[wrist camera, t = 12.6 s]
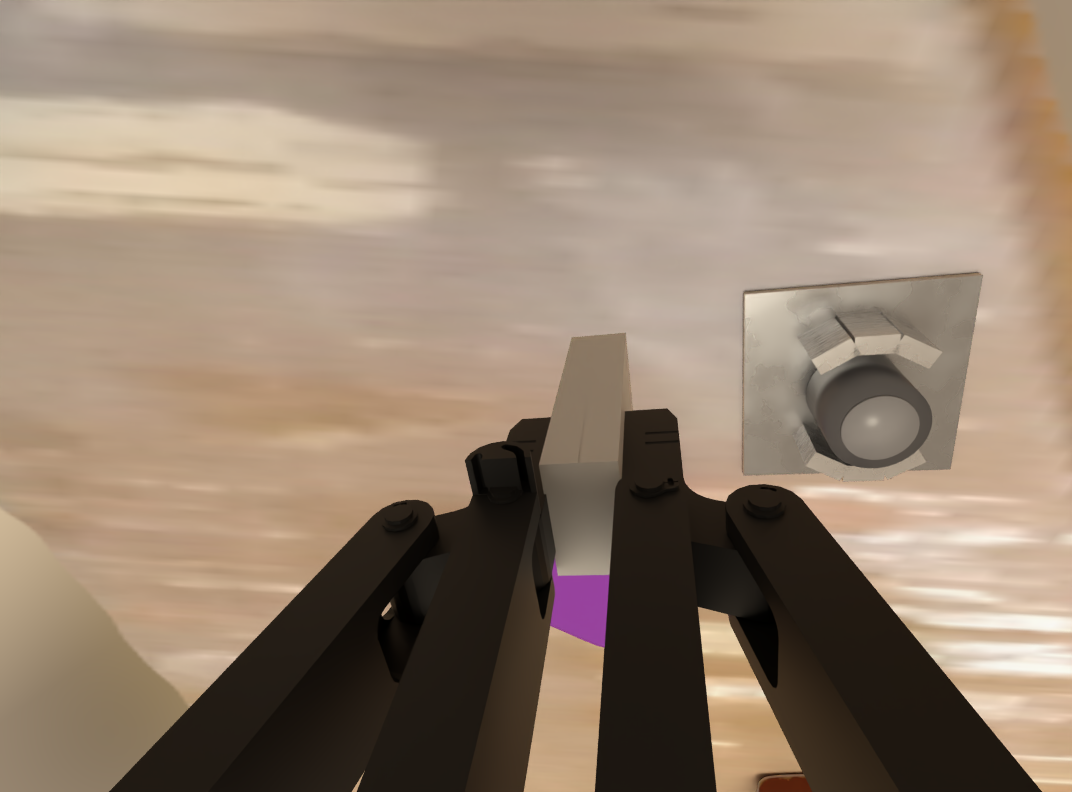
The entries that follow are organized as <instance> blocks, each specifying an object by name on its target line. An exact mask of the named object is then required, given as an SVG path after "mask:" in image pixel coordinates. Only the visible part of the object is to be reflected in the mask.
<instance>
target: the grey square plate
mask: <svg viewBox="0 0 1072 792" xmlns="http://www.w3.org/2000/svg"><path fill="white" fill-rule="evenodd" d="M982 278H983V275H982V274H980V273H968V274H956V275H943V276H931V277H919V278H907V279H895V280H882V281H870V282H858V283H846V284H834V285H821V286H809V287H797V288H785V289H773V290H760V291H748V292H744V295H743V454H742V472H743V475H777V474H810V473H823V474H825V475H827V476H829V477H832V478H834V479H836V480H838V481H840V480H841V479H842V481H843V482H848V481H884V475H885V476H886V478H887V480H888V479H890V478H892V477H895V476H897V475H899V474H901V473H903V472H906V471H910V470H944V469H951V463H952V457H953V451H954V445H955V439H956V433H957V427H958V421H959V415H960V409H961V403H962V397H963V391H964V385H965V379H966V373H967V367H968V361H969V355H970V349H971V344H972V338H973V332H974V326H975V320H976V314H977V308H978V302H979V296H980V290H981V284H982ZM875 354H881V355H883V356H884V357H886V358H887V359H889V360H890V361H891V362H892V363H893V364H894V365H895V366H896V367H897V368H898V370H899V371H900V372H901V373H902V374H903V375H904V376H905V377H906V378H907V379H908V380H909V381H910V382H911V384H912V385H913V386H914V387H915V388H916V389H917V390H918V391H919V392H920V393H921V394H922V395H923V397H924V398H925V399H926V400H927V402H928V404H929V405H930V408H931V411H932V427H931V430H930V433H929V435H928V437H927V439H926V441H925V442H924V443H923V445H922V446H921V447H920V448H919V449H918V450H917V451H916V452H915V453H914V454H912V455H911V456H910V457H908V458H906V459H905V460H903V461H901V462H899V463H897V464H894V465H891V466H887V467H882V468H861V467H856V466H853V465H850V464H848V463H846V462H844V461H842V460H841V459H840V458H838V457H837V456H836V455H835V454H834V452H833V451H832V449H831V448H830V446H829V444H828V443H827V441H826V439H825V437H824V435H823V433H822V432H821V430H820V428H819V426H818V424H817V423H816V421H815V419H814V417H813V415H812V414H811V412H810V410H809V408H808V405H807V401H806V391H807V386H808V383H809V381H810V379H811V377H812V375H813V374H814V373H815V371H816V370H817V369H818V371H819V373H820V374H821V375H822V374H824V373H826V372H828V371H829V370H831V369H833V368H835V367H837V366H839V365H841V364H843V363H844V362H846V361H848V360H850V359H852V358H854V357H856V356H859V355H875Z"/></svg>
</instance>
